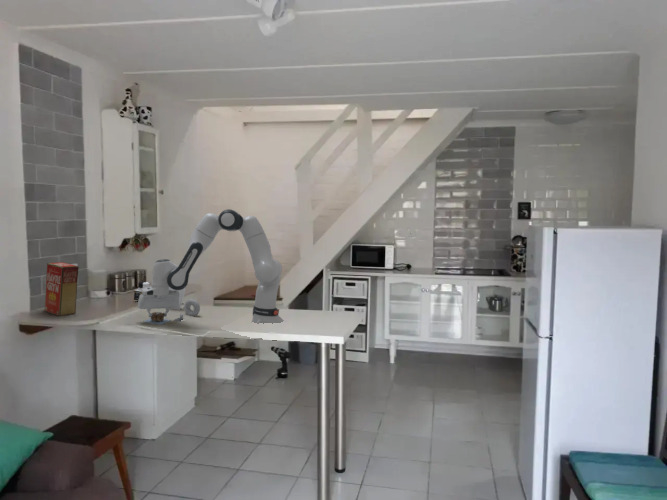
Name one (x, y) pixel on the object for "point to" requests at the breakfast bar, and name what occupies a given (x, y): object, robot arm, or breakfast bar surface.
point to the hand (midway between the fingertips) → (157, 316)
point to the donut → (195, 305)
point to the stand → (179, 318)
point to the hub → (157, 321)
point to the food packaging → (61, 288)
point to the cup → (181, 295)
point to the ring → (157, 316)
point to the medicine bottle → (138, 291)
